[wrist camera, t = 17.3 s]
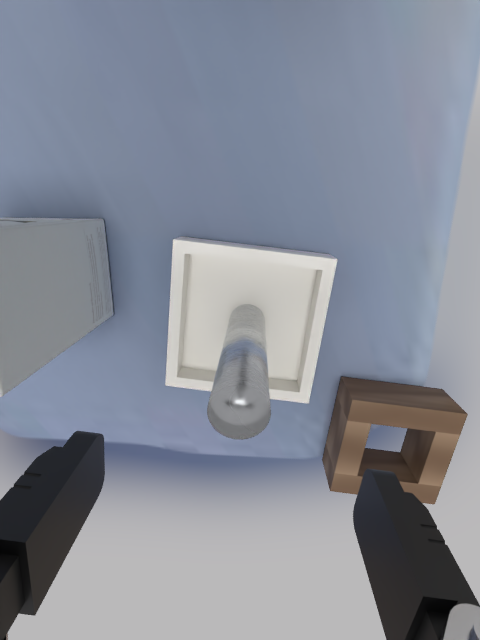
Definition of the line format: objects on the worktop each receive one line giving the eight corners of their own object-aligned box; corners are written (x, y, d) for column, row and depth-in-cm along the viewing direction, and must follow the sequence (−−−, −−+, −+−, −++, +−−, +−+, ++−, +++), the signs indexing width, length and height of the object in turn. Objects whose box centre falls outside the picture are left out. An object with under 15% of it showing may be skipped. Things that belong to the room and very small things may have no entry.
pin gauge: (231, 302, 25) (210, 380, 14) (267, 306, 25) (275, 388, 14) (227, 335, 26) (204, 435, 15) (262, 339, 26) (265, 442, 15)
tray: (181, 236, 25) (173, 239, 22) (329, 254, 25) (337, 259, 22) (173, 370, 28) (165, 385, 26) (304, 386, 28) (308, 403, 26)
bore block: (341, 376, 28) (352, 399, 24) (442, 389, 28) (467, 414, 24) (322, 459, 30) (330, 491, 27) (414, 471, 30) (434, 504, 27)
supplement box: (106, 216, 25) (-36, 226, 13) (115, 316, 27) (2, 405, 15) (4, 213, 25) (-229, 221, 13) (22, 313, 27) (-162, 397, 15)
